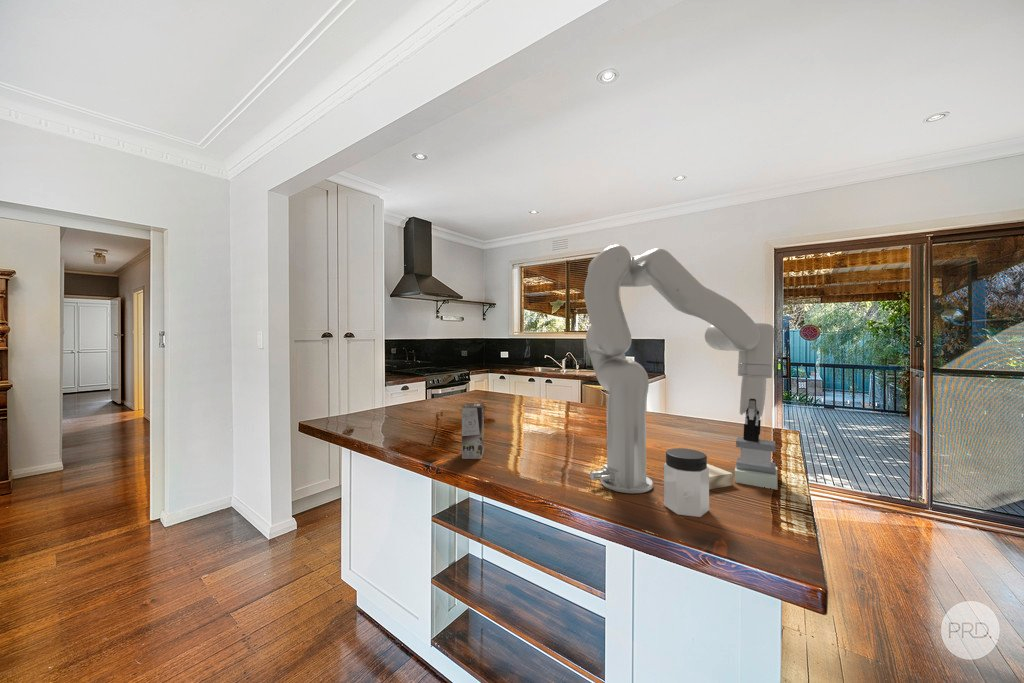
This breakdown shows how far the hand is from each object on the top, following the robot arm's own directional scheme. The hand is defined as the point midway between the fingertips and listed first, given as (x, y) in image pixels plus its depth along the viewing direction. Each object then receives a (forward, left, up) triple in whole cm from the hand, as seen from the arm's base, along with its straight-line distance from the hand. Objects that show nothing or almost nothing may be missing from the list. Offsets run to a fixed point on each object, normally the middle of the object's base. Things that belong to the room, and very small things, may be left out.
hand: (751, 437), depth 99 cm
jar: (-28, -7, -11) cm, 31 cm away
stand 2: (+1, 0, -11) cm, 11 cm away
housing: (+1, 0, -8) cm, 8 cm away
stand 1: (-12, +4, -11) cm, 17 cm away
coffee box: (-63, +47, -11) cm, 79 cm away
